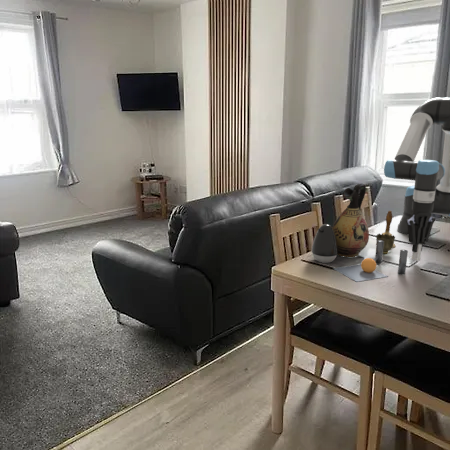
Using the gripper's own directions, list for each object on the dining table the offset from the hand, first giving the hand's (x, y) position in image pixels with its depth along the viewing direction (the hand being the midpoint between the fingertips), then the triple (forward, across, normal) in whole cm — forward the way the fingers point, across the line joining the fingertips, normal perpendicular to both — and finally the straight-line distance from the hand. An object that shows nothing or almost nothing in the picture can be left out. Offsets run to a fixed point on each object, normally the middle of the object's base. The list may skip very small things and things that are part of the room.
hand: (415, 259), depth 177 cm
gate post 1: (+2, -13, +6) cm, 15 cm away
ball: (-1, -24, -1) cm, 24 cm away
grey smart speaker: (+2, -32, +16) cm, 36 cm away
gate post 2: (+2, -13, -6) cm, 15 cm away
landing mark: (+2, -27, 0) cm, 27 cm away
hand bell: (+2, +6, +24) cm, 24 cm away
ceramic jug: (+2, -17, +20) cm, 26 cm away
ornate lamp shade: (+2, -3, +14) cm, 15 cm away
